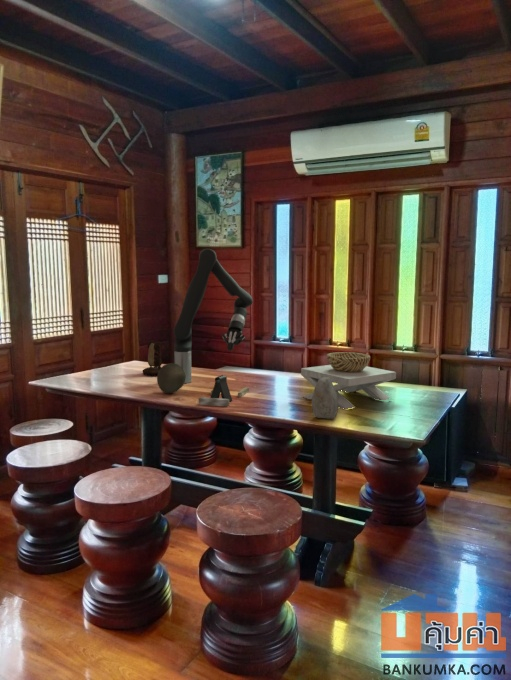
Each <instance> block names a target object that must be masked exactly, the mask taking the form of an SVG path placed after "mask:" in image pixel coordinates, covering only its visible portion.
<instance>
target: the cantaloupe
mask: <svg viewBox="0 0 511 680" xmlns="http://www.w3.org/2000/svg"><path fill="white" fill-rule="evenodd" d="M156 376H157V377H156V383H157V386H158V388H159V389H160V390H161V392H162V393H165V394H174V393H176V392H178V391H179V390H181V389H182V388H183V386H184V385H185V384H186V383H185V379H186V375H185V372H184V370H183V368H182V367H181V366H179V365H178V364H175V362H172V363H171V362H169V363H165V364H164V365H161V369H160V370H159V372H158V374H156Z"/></svg>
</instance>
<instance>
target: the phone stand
mask: <svg viewBox="0 0 511 680" xmlns="http://www.w3.org/2000/svg"><path fill="white" fill-rule="evenodd" d="M227 379H228V378H227V376H226V375H225V374H222V375H219V376H216V377H215V378H214V386H213V389H212V390H213V391H212V394H211V393H210V397H209V398H221V399H229V403H230V402H232V401H233V397H232V395H231V391H230V388H229V385H228V381H227ZM220 396H221V397H220Z"/></svg>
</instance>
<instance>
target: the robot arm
mask: <svg viewBox="0 0 511 680" xmlns="http://www.w3.org/2000/svg"><path fill="white" fill-rule="evenodd" d="M195 271H196V272H195V273H194V275H193V277H192V279H191V281H190V283H189V284H188V287H187V290H186V293H185V296H184V298H183V299H184V300H183V304H182V308H181V312H180V314H179V317H178V320H177V321H176V323H175V325H174V327H173V335H174V339H175V340H174V351H173V352H174V353H173V354H174V355H173V356H174V363H175V364H178V365H179V366H181V367H182V368H183V370H184V372H185V375H186V379H185V383H184V384H189V383H192V346H193V345H192V343H193V341H192V339H193V338H192V337H193V336H192V332H193V331H192V325H193V321H194V318H195V316H196V314H197V312H198V310H199V308H200V306H201V304H202V302H203V299H204V295H205V293H206V291H207V289H206V288H207V286H208V282H209V277H210V275H211V273H212V274H213V275H214V277H216V279H217V280H218V282H219V283H220V284H221V285H222V287H223V288H224V289H225V291H226V292H227V293H228V294H229V295H230V296H231V297H237V298H236V299H235V300H234V302H233V308H234V311H233V314H232V317H231V320H230V321H229V322H230V323H229V325H228V329H227V331H226V333H221V337H222V339H223V341H224V342H225V344H226V345H227V350H228V351H229V352H232V351H233V350H234V347H235V345H236V346H238V345H240V344H241V343H242V342H243V341H244V340H246V337H245V335H244V334H243V330H244V327H245V324H246V323H245V322H246V318H247V314H248V311H247V308H248V307H250V306H251V305H253V303H254V300H253V297H252V295H251V294H250V293H249V292H247V291H246V290H245V289H244V288H242V287H241V286H240V285H239V284H238V282H237V281H236V280H235V279H234V278H233V277H232V275H230V274H229V272H227V271H226V270H225V268H224V267H223V266H222V265H221V263H220V262H219V260H218V259H217V253H216V252H215V250H214V249H211V248H203V249H202V250H200V252H199V253H198V264H197V268H196V270H195Z"/></svg>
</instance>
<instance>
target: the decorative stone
mask: <svg viewBox="0 0 511 680" xmlns="http://www.w3.org/2000/svg"><path fill="white" fill-rule="evenodd" d="M333 385H334V383H333V382H332V381H331V380H330V378H326V377H323V378H321V379H319V380H318V382H317V384H316V386H315V387H314V389H313V392H312V393H313V396H312V399H311V406H312V414H313V416H314V417H315V418H317V419H327V420H334V419H335V418H336V417H337V412H338V409H339V408H338V396H337V393H336V391H335V388H334V386H333Z"/></svg>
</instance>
